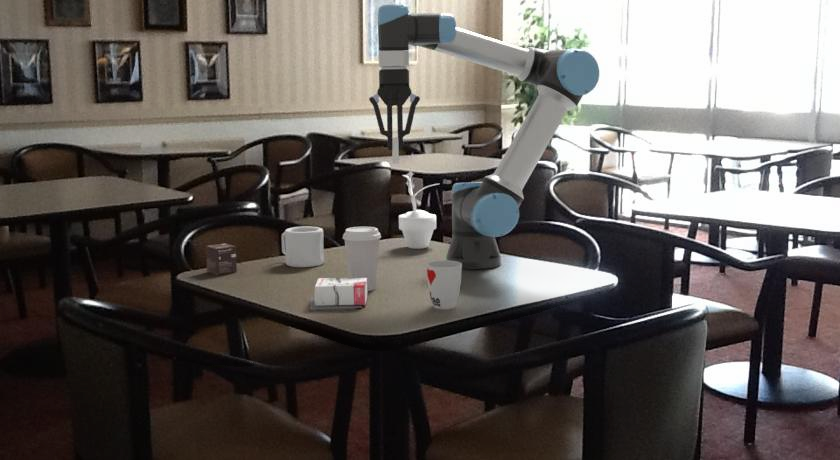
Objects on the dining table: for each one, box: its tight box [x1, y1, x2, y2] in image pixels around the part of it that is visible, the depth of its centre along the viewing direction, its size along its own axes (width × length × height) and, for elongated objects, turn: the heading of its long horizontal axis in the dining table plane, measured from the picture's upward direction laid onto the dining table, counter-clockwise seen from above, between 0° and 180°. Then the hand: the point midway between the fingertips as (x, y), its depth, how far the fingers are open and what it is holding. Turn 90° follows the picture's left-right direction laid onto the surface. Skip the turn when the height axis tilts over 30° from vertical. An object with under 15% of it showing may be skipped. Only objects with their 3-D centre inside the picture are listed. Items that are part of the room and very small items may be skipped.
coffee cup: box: [342, 226, 382, 292], centre depth 239 cm, size 10×10×15 cm
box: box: [205, 243, 238, 276], centre depth 262 cm, size 6×6×7 cm
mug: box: [281, 225, 325, 268], centre depth 272 cm, size 14×11×10 cm
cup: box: [426, 260, 463, 310], centre depth 220 cm, size 8×8×10 cm
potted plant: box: [398, 167, 440, 250], centre depth 293 cm, size 13×12×25 cm
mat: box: [309, 297, 363, 311], centre depth 225 cm, size 12×11×1 cm
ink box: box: [314, 277, 368, 306], centre depth 225 cm, size 9×5×12 cm
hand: (395, 162), depth 244 cm, fingers closed
